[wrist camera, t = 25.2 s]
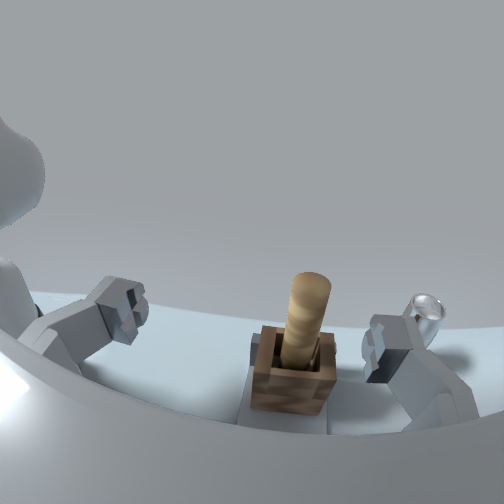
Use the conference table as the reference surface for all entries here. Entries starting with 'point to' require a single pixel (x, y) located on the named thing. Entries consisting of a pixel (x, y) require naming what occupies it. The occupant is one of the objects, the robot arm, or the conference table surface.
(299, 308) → the dowel
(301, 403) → the socket block
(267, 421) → the rail base
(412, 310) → the beer glass
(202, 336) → the conference table surface
